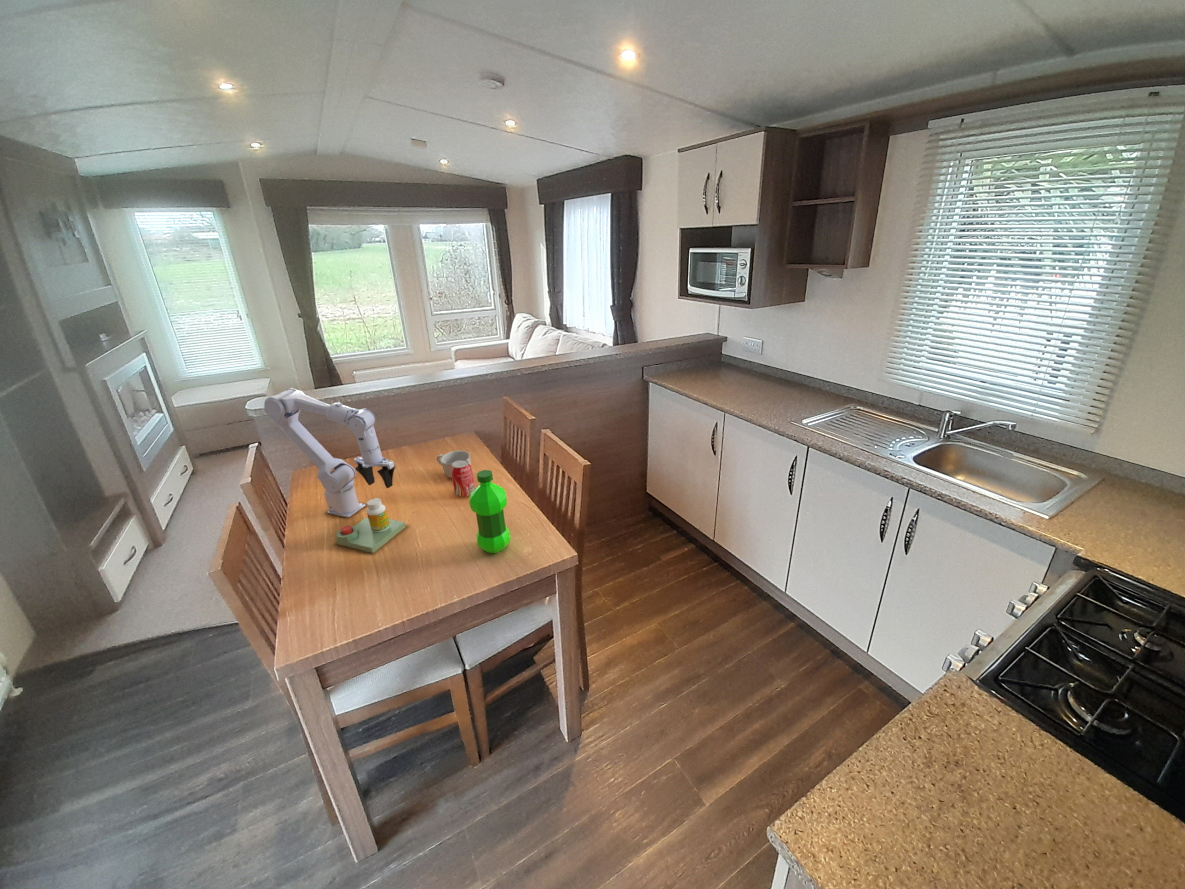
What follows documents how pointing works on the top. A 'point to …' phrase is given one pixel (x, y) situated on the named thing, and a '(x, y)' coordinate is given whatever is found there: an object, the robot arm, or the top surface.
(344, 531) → the button
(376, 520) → the supplement bottle
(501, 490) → the plastic bottle
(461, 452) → the teacup
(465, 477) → the soda can
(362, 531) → the scale
